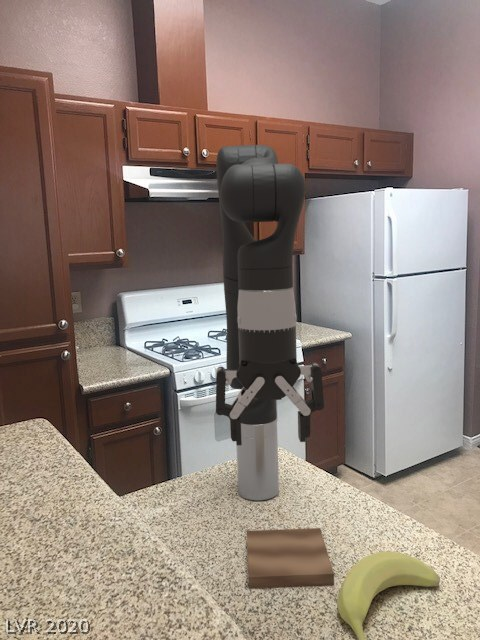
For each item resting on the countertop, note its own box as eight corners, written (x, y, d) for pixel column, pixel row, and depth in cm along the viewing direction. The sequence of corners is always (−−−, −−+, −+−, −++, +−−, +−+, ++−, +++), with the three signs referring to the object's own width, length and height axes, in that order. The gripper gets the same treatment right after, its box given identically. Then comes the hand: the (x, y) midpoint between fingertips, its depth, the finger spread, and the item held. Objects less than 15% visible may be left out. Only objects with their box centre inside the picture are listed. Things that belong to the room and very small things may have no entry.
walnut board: (247, 540, 100) (246, 530, 100) (320, 537, 100) (320, 528, 100) (248, 588, 86) (248, 577, 86) (334, 585, 86) (333, 573, 86)
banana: (356, 545, 92) (319, 640, 75) (366, 523, 89) (330, 616, 73) (433, 587, 87) (412, 698, 71) (446, 565, 85) (427, 674, 68)
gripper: (316, 316, 72) (317, 429, 75) (212, 320, 72) (217, 434, 74) (327, 325, 65) (328, 450, 67) (211, 330, 64) (217, 455, 67)
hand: (270, 441), depth 71 cm, fingers open, 8 cm apart
